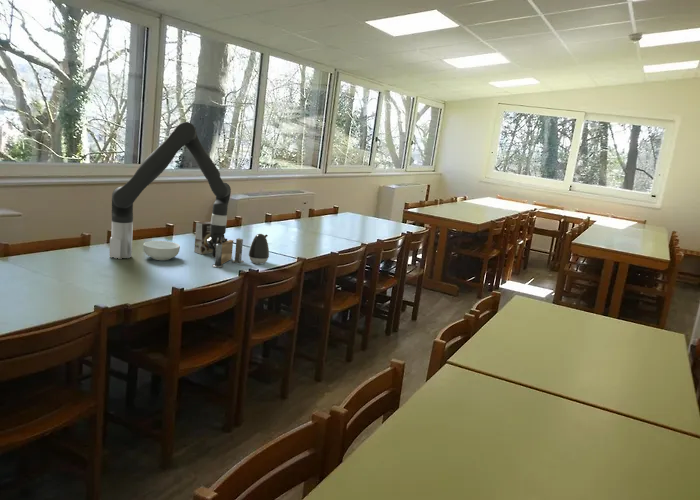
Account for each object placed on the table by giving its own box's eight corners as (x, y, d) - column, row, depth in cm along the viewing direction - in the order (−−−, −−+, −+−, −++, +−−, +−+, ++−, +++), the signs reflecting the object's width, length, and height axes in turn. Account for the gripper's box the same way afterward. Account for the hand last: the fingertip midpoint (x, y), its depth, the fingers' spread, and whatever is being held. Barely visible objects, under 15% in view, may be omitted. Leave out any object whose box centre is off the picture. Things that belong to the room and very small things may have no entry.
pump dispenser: (272, 263, 278) (275, 234, 275) (259, 266, 269) (261, 236, 266) (257, 259, 283) (259, 230, 280) (244, 262, 274) (246, 232, 271)
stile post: (239, 263, 270) (241, 240, 267) (231, 262, 271) (233, 238, 269) (243, 262, 274) (245, 239, 272) (236, 260, 275) (237, 237, 273)
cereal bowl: (167, 264, 253) (168, 250, 251) (135, 259, 256) (136, 244, 254) (185, 257, 269) (186, 243, 268) (155, 252, 272) (156, 238, 271)
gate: (217, 264, 262) (218, 245, 260) (228, 258, 276) (229, 239, 274) (221, 264, 262) (222, 245, 260) (232, 258, 276) (233, 240, 273)
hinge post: (219, 268, 257) (221, 246, 255) (210, 266, 258) (211, 244, 256) (224, 266, 262) (226, 244, 260) (215, 264, 263) (217, 242, 261)
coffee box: (201, 254, 278) (203, 224, 275) (193, 251, 282) (195, 221, 279) (215, 252, 286) (217, 223, 282) (208, 250, 289) (209, 220, 286)
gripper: (222, 221, 271) (219, 254, 275) (203, 222, 260) (199, 257, 263) (233, 224, 268) (229, 257, 271) (214, 225, 256) (210, 260, 260)
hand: (214, 257), depth 267 cm, fingers closed
